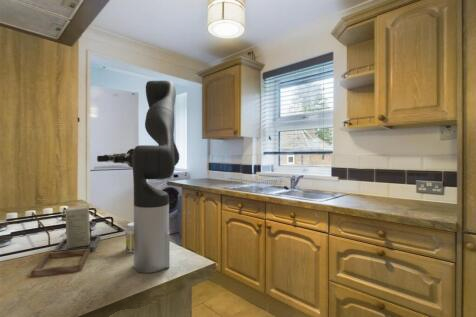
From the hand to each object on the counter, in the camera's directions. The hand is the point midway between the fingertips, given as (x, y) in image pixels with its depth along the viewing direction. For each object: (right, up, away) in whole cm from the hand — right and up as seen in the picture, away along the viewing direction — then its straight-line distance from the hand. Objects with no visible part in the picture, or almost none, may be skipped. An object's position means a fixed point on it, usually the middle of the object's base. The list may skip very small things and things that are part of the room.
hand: (105, 159), depth 93 cm
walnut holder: (-2, -29, -20) cm, 35 cm away
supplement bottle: (+14, -29, -9) cm, 33 cm away
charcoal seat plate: (-5, -28, -8) cm, 30 cm away
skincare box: (-5, -28, -8) cm, 29 cm away
